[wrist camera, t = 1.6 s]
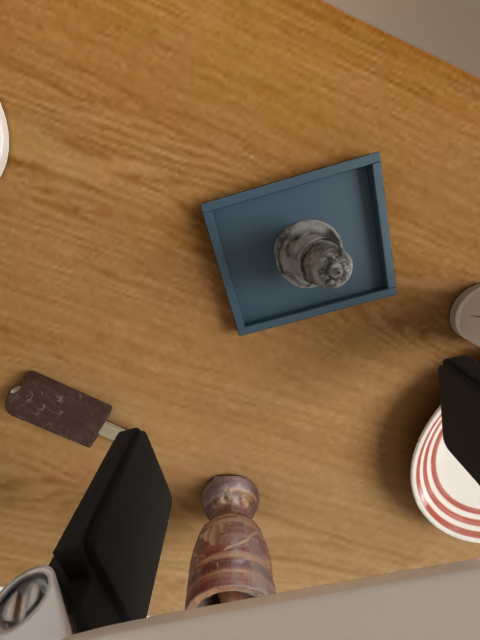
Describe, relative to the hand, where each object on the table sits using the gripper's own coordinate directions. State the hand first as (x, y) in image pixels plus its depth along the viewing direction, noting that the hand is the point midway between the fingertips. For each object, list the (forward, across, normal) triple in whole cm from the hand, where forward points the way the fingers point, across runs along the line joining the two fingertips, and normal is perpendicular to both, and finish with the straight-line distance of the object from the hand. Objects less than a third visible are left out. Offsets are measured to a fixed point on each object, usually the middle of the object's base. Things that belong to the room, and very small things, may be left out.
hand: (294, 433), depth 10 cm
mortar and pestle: (+24, +8, +28) cm, 38 cm away
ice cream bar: (+24, +23, +10) cm, 35 cm away
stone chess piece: (+24, -5, -2) cm, 24 cm away
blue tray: (+24, -5, -2) cm, 25 cm away
